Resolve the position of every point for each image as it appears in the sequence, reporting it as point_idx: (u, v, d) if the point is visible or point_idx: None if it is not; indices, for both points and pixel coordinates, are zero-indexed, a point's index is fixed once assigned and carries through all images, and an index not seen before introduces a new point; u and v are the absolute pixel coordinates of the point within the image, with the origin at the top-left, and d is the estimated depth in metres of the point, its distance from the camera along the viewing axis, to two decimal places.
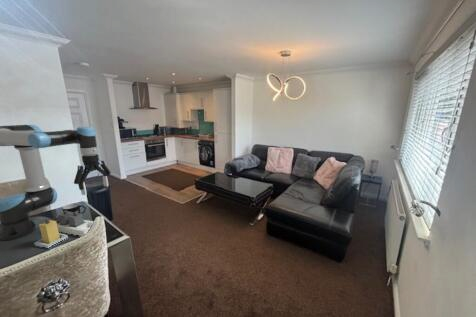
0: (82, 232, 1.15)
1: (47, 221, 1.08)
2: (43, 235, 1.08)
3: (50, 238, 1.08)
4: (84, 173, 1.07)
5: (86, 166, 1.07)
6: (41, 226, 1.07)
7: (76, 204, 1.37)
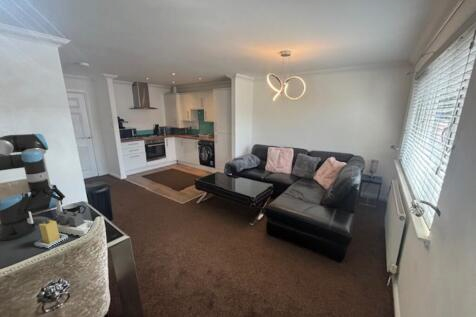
0: (82, 232, 1.15)
1: (47, 221, 1.08)
2: (43, 235, 1.08)
3: (50, 238, 1.08)
4: (30, 200, 1.01)
5: (32, 193, 1.01)
6: (41, 226, 1.07)
7: (76, 204, 1.37)
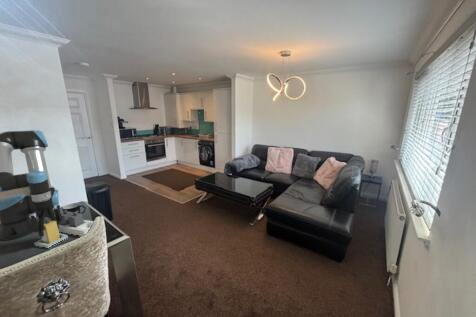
0: (82, 232, 1.15)
1: (47, 221, 1.08)
2: None
3: (50, 238, 1.08)
4: (39, 220, 1.05)
5: (37, 213, 1.03)
6: None
7: (76, 204, 1.37)
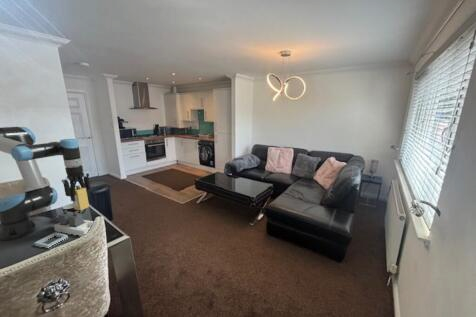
0: (82, 232, 1.15)
1: (78, 187, 1.13)
2: None
3: (80, 203, 1.13)
4: (71, 185, 1.11)
5: (70, 178, 1.09)
6: None
7: None
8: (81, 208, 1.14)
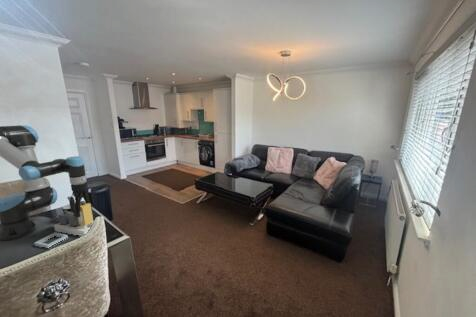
0: (82, 232, 1.15)
1: (83, 203, 1.17)
2: None
3: (85, 218, 1.17)
4: (76, 202, 1.14)
5: (75, 195, 1.12)
6: None
7: None
8: (86, 223, 1.17)
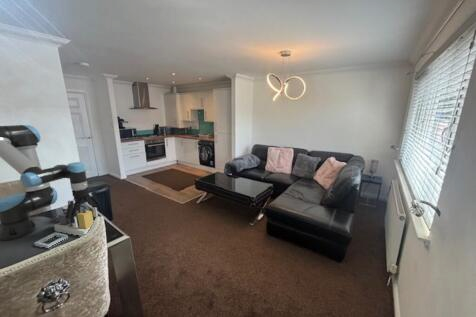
0: (82, 232, 1.15)
1: (84, 211, 1.18)
2: (81, 224, 1.18)
3: (86, 226, 1.18)
4: (75, 207, 1.13)
5: (76, 200, 1.13)
6: (79, 215, 1.16)
7: None
8: None
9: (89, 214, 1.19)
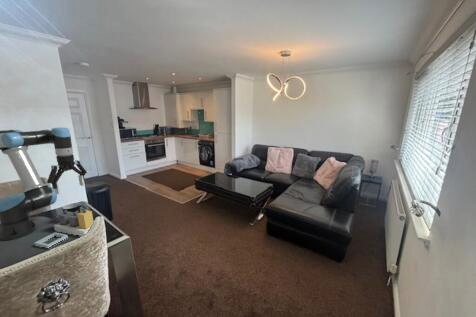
0: (82, 232, 1.15)
1: (84, 211, 1.18)
2: (81, 224, 1.18)
3: (86, 226, 1.18)
4: (58, 173, 1.10)
5: (60, 166, 1.10)
6: (79, 215, 1.16)
7: (76, 204, 1.37)
8: None
9: (89, 214, 1.19)
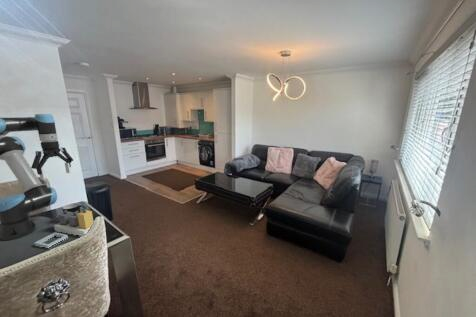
0: (82, 232, 1.15)
1: (84, 211, 1.18)
2: (81, 224, 1.18)
3: (86, 226, 1.18)
4: (43, 159, 1.11)
5: (45, 152, 1.11)
6: (79, 215, 1.16)
7: (76, 204, 1.37)
8: None
9: (89, 214, 1.19)
